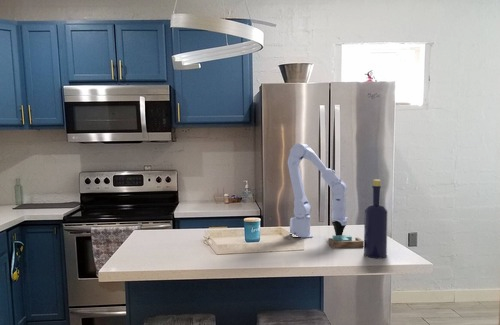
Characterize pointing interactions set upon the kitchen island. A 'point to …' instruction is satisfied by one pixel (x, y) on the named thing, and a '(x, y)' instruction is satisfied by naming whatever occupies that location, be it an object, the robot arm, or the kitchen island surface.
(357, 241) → the wooden drawer handle
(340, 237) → the t block
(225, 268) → the kitchen island surface
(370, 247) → the bottle
